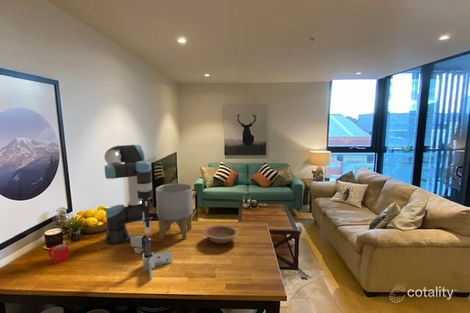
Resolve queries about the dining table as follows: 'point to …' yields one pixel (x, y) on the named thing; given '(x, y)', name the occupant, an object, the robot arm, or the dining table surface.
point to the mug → (59, 253)
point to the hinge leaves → (156, 260)
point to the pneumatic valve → (137, 242)
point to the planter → (174, 207)
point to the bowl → (220, 233)
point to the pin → (147, 246)
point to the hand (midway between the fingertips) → (146, 227)
